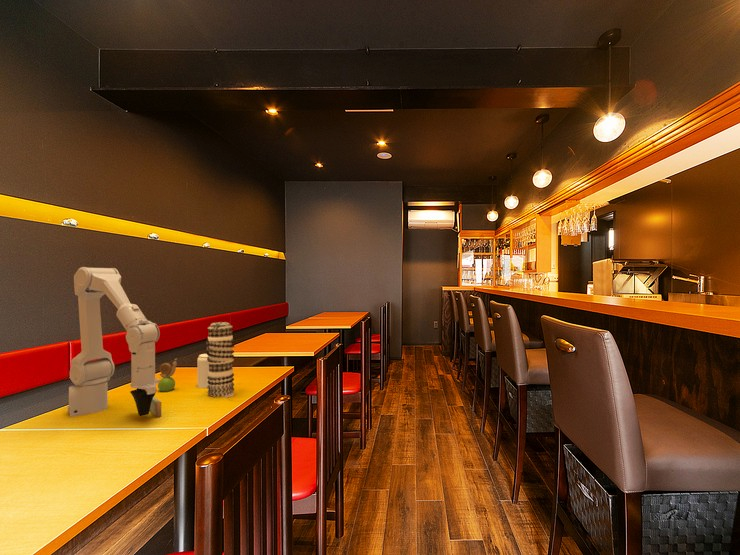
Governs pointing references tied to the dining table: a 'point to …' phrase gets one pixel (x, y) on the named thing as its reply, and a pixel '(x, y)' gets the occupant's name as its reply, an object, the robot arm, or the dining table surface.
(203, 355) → the beverage can
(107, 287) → the robot arm
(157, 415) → the fence gate
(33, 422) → the dining table surface
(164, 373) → the snail figurine
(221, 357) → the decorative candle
